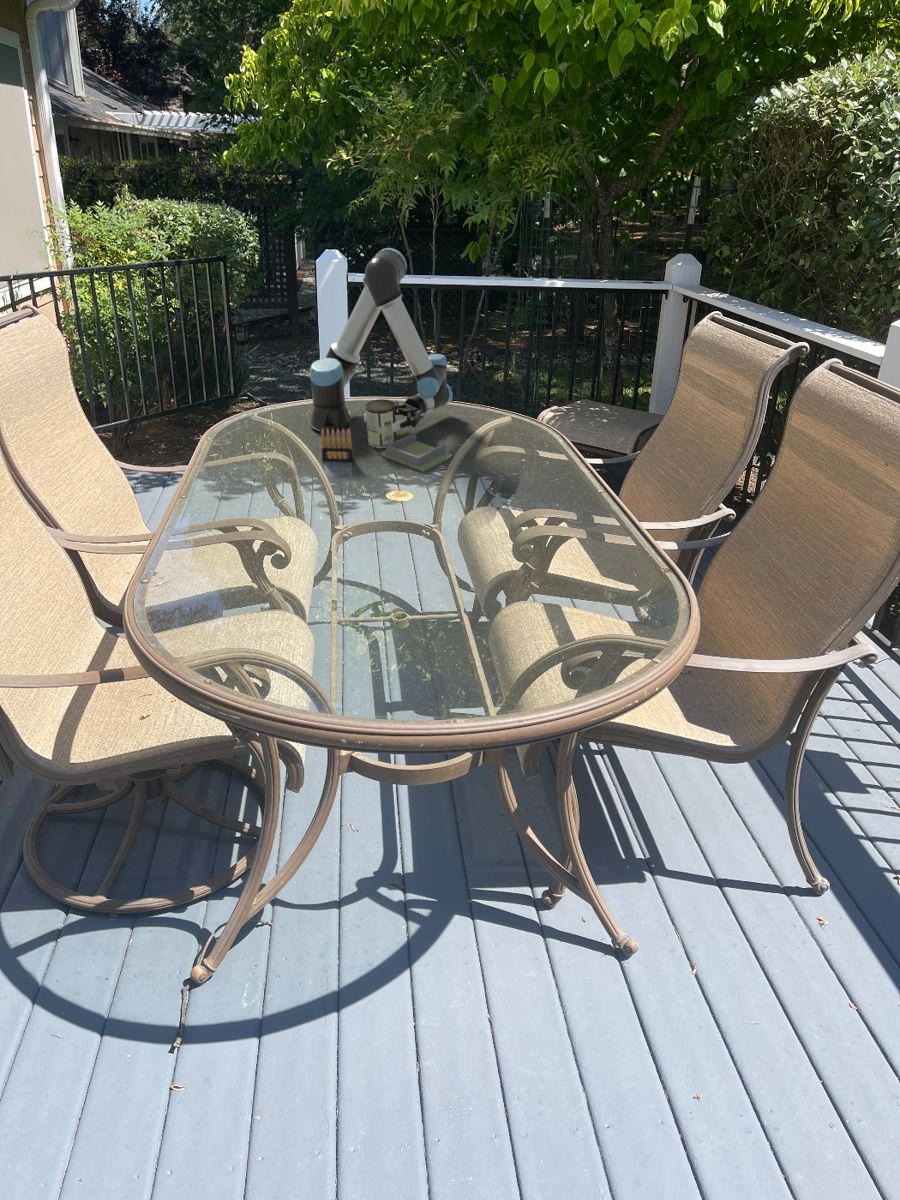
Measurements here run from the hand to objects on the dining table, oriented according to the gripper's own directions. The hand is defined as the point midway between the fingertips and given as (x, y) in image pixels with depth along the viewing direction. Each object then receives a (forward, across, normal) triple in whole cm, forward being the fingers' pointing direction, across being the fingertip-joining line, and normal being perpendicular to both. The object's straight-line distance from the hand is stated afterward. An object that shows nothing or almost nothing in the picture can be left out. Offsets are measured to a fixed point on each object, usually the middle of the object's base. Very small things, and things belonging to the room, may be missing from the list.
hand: (378, 423), depth 308 cm
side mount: (-1, -17, -8) cm, 18 cm away
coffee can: (-2, 0, -8) cm, 8 cm away
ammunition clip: (+19, +2, -8) cm, 21 cm away
